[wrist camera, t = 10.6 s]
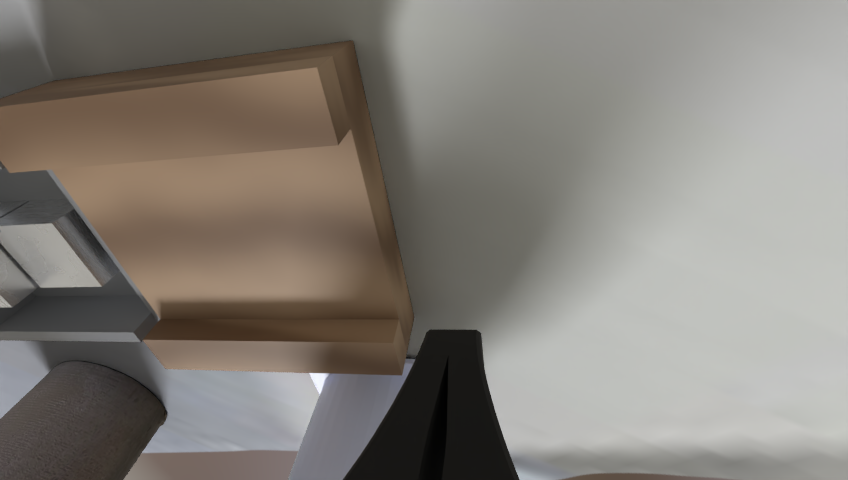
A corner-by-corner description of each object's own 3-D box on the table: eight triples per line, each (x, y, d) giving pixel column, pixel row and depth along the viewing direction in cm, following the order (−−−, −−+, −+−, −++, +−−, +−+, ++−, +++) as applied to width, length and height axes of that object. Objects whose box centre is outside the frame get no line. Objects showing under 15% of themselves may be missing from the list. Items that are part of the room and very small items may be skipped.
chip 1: (12, 307, 21) (-26, 307, 22) (75, 258, 24) (41, 259, 25) (-50, 245, 19) (-91, 247, 19) (28, 200, 22) (-8, 202, 23)
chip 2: (134, 256, 24) (102, 286, 22) (77, 258, 24) (40, 287, 22) (93, 196, 21) (52, 223, 19) (31, 200, 22) (-15, 226, 20)
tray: (189, 298, 26) (153, 342, 23) (41, 300, 28) (-9, 339, 25) (73, 118, 19) (3, 149, 17) (-108, 139, 22) (-198, 169, 19)
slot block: (414, 317, 24) (402, 375, 21) (204, 317, 27) (165, 368, 24) (352, 40, 16) (316, 67, 12) (53, 80, 18) (-40, 111, 15)
